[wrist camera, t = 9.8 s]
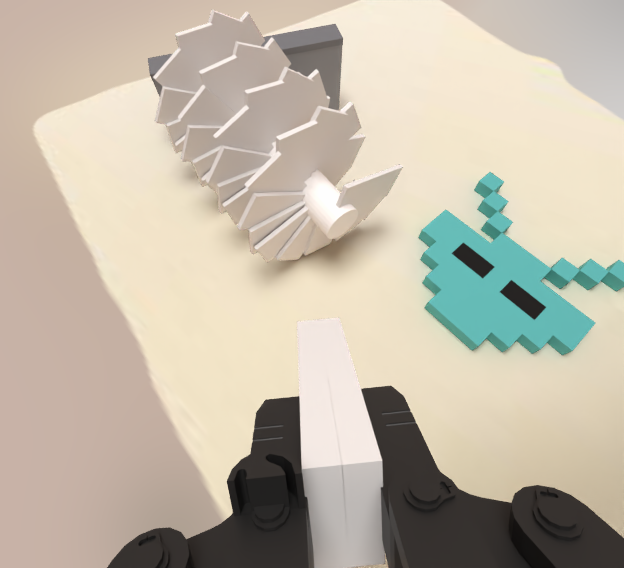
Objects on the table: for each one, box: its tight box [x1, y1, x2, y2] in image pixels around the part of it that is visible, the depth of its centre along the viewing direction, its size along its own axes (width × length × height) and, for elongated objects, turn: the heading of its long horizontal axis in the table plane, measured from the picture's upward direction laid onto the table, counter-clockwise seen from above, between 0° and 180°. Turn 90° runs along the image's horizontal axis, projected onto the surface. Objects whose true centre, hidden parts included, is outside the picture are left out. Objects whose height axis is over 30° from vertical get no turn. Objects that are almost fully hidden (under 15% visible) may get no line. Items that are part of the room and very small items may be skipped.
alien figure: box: [419, 172, 624, 355], centre depth 43 cm, size 20×2×20 cm
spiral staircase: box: [153, 10, 403, 263], centre depth 41 cm, size 18×18×25 cm
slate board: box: [148, 24, 343, 111], centre depth 51 cm, size 24×3×11 cm, turn 106°
